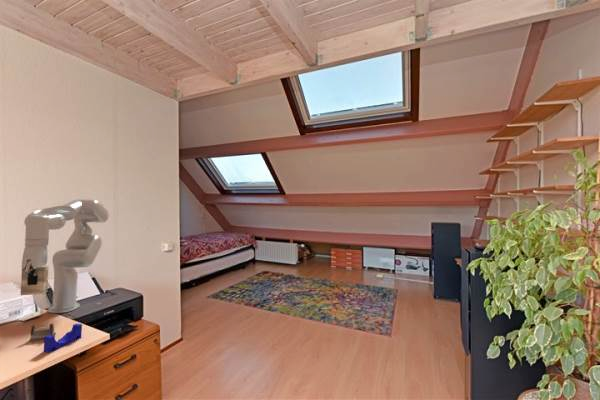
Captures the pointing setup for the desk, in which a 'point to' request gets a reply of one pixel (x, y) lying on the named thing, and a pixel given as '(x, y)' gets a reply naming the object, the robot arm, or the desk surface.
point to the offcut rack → (41, 332)
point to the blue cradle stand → (62, 339)
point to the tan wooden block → (41, 282)
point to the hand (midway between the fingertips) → (34, 283)
